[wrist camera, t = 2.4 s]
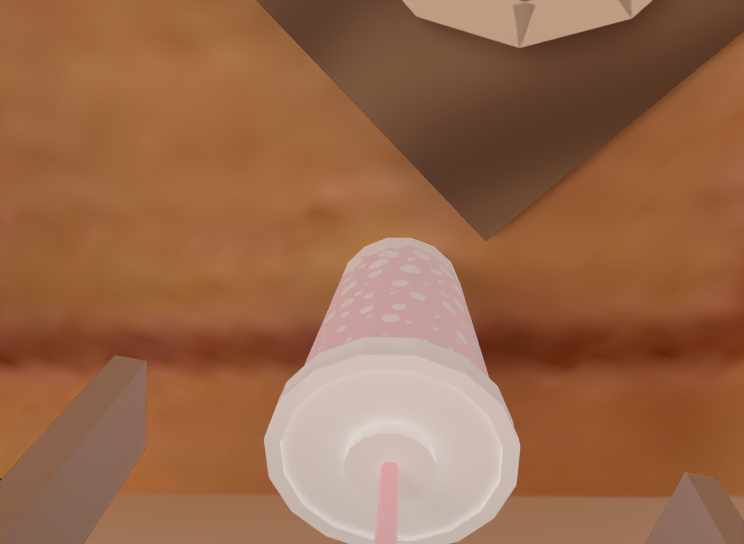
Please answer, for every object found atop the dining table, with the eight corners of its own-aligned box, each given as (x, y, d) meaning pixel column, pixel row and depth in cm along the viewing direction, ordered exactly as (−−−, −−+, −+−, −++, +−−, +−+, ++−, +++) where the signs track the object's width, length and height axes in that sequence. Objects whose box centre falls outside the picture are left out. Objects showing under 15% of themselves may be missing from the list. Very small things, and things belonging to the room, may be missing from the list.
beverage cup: (421, 385, 23) (427, 830, 11) (291, 311, 22) (128, 706, 10) (514, 273, 21) (665, 672, 8) (374, 185, 20) (304, 486, 7)
